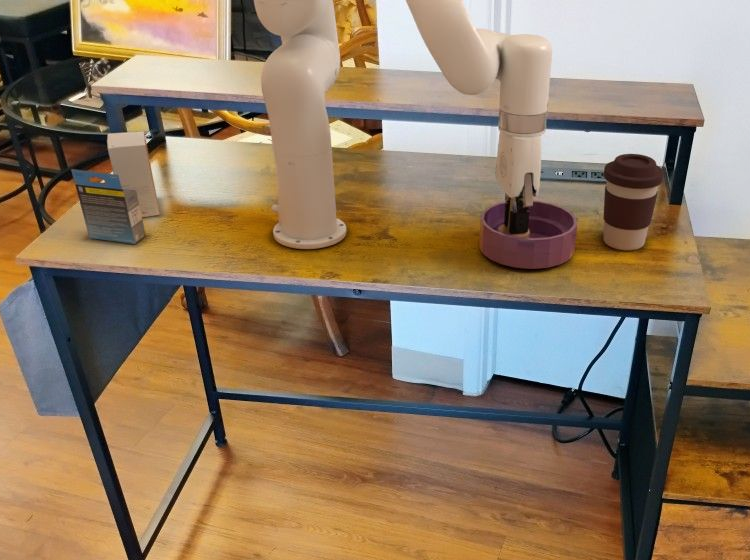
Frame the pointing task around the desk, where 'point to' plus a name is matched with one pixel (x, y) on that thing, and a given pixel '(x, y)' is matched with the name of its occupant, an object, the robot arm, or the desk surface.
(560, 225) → the bowl
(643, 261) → the desk surface
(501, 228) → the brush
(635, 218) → the coffee cup
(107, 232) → the blue retail box
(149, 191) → the small box
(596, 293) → the desk surface
